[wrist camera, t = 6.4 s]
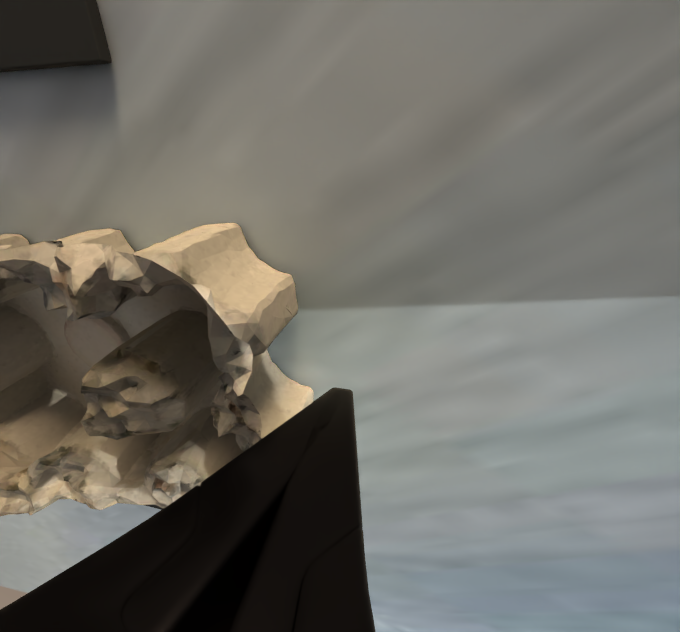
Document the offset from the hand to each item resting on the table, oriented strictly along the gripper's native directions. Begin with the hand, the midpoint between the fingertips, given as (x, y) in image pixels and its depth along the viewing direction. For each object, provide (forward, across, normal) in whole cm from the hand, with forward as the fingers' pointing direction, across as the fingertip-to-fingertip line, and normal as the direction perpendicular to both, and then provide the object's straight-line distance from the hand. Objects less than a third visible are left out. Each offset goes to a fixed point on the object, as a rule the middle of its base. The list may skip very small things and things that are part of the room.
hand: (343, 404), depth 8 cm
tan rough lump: (+2, +6, 0) cm, 7 cm away
